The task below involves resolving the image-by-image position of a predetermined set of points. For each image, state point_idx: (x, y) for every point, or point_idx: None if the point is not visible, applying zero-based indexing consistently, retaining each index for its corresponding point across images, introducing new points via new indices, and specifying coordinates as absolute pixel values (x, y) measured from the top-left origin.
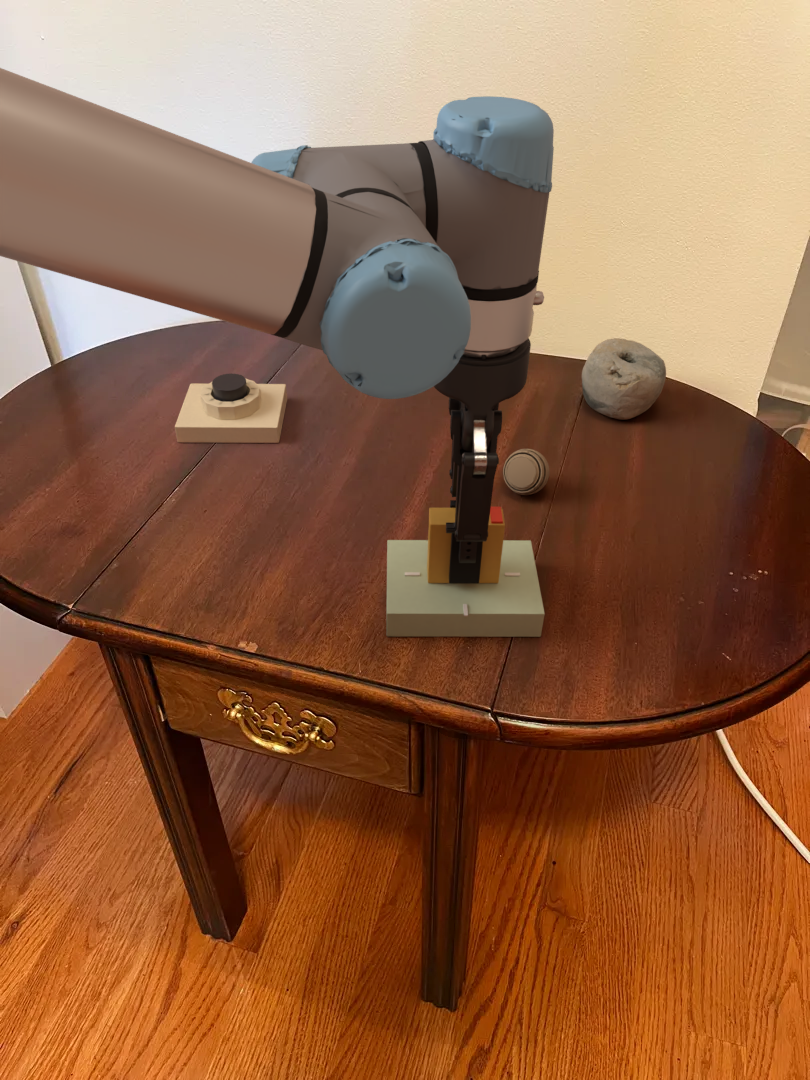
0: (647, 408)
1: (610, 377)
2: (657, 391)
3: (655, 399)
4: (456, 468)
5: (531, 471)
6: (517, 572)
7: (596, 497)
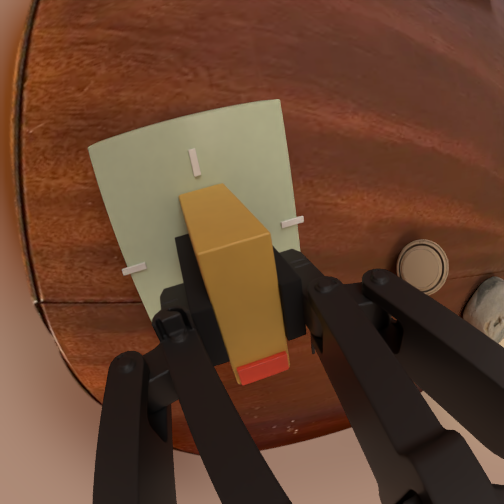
0: None
1: (496, 317)
2: None
3: None
4: (347, 363)
5: (418, 282)
6: None
7: None
